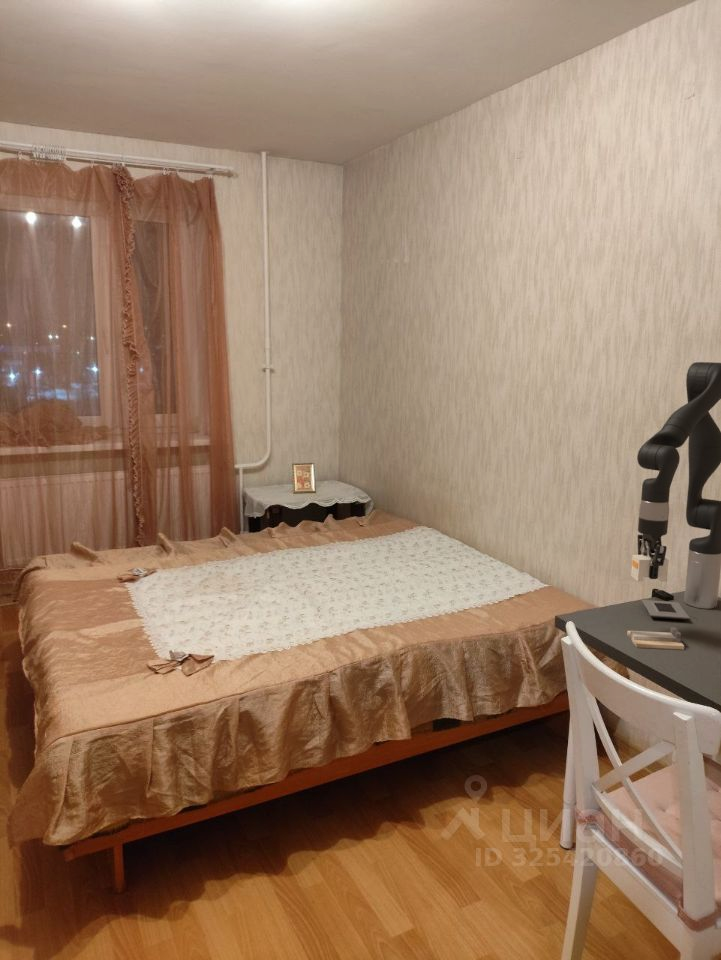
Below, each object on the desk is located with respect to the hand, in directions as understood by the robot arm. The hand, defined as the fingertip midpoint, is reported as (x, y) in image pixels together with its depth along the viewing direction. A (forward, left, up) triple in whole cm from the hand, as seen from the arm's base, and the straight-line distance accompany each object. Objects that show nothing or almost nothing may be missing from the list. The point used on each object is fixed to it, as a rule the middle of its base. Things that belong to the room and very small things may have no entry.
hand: (648, 575), depth 190 cm
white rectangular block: (0, 0, -1) cm, 1 cm away
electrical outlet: (-12, +9, -16) cm, 22 cm away
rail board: (+10, 0, -15) cm, 18 cm away
